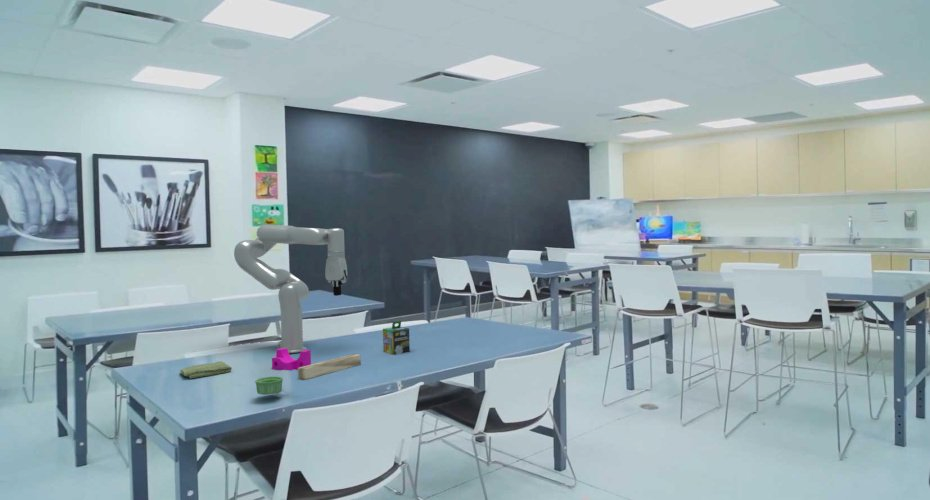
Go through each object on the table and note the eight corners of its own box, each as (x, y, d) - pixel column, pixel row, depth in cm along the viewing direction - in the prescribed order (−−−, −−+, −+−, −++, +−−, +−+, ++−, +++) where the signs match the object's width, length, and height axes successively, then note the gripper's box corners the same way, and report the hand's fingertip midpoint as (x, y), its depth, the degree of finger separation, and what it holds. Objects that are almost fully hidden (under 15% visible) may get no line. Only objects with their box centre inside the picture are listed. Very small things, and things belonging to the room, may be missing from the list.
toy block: (272, 368, 234) (271, 350, 234) (283, 365, 240) (282, 348, 239) (300, 371, 227) (300, 352, 227) (311, 368, 233) (310, 350, 233)
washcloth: (178, 374, 229) (177, 366, 229) (224, 367, 240) (224, 360, 240) (185, 380, 218) (185, 371, 218) (233, 372, 229) (233, 364, 229)
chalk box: (399, 350, 267) (398, 319, 267) (410, 353, 260) (409, 320, 260) (382, 353, 261) (381, 321, 261) (393, 356, 254) (392, 322, 254)
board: (298, 378, 215) (297, 367, 214) (353, 363, 240) (353, 353, 240) (305, 379, 212) (305, 369, 212) (360, 364, 238) (360, 354, 238)
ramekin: (266, 388, 202) (266, 375, 202) (288, 389, 199) (288, 376, 199) (249, 394, 193) (249, 381, 193) (272, 396, 190) (272, 382, 190)
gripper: (318, 255, 262) (319, 295, 262) (342, 255, 254) (343, 296, 254) (330, 255, 268) (332, 294, 269) (354, 255, 260) (355, 295, 260)
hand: (337, 295), depth 261 cm, fingers closed
